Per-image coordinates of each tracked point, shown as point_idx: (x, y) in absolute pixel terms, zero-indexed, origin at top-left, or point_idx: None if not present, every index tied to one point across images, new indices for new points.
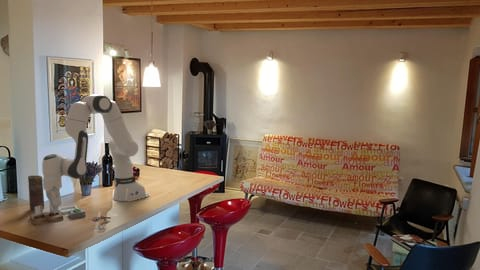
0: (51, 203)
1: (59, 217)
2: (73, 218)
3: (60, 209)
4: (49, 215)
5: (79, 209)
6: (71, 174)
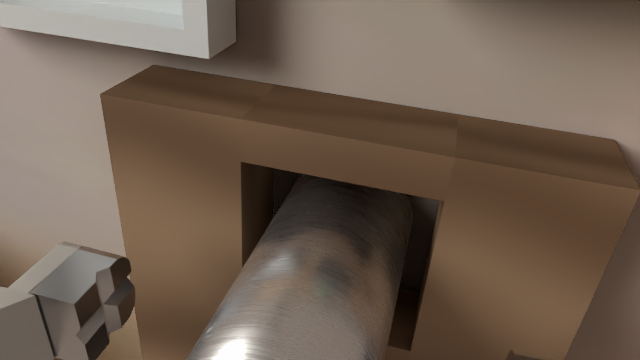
0: (29, 353)
1: (606, 254)
2: None
3: (23, 11)
4: None
5: None
6: None
